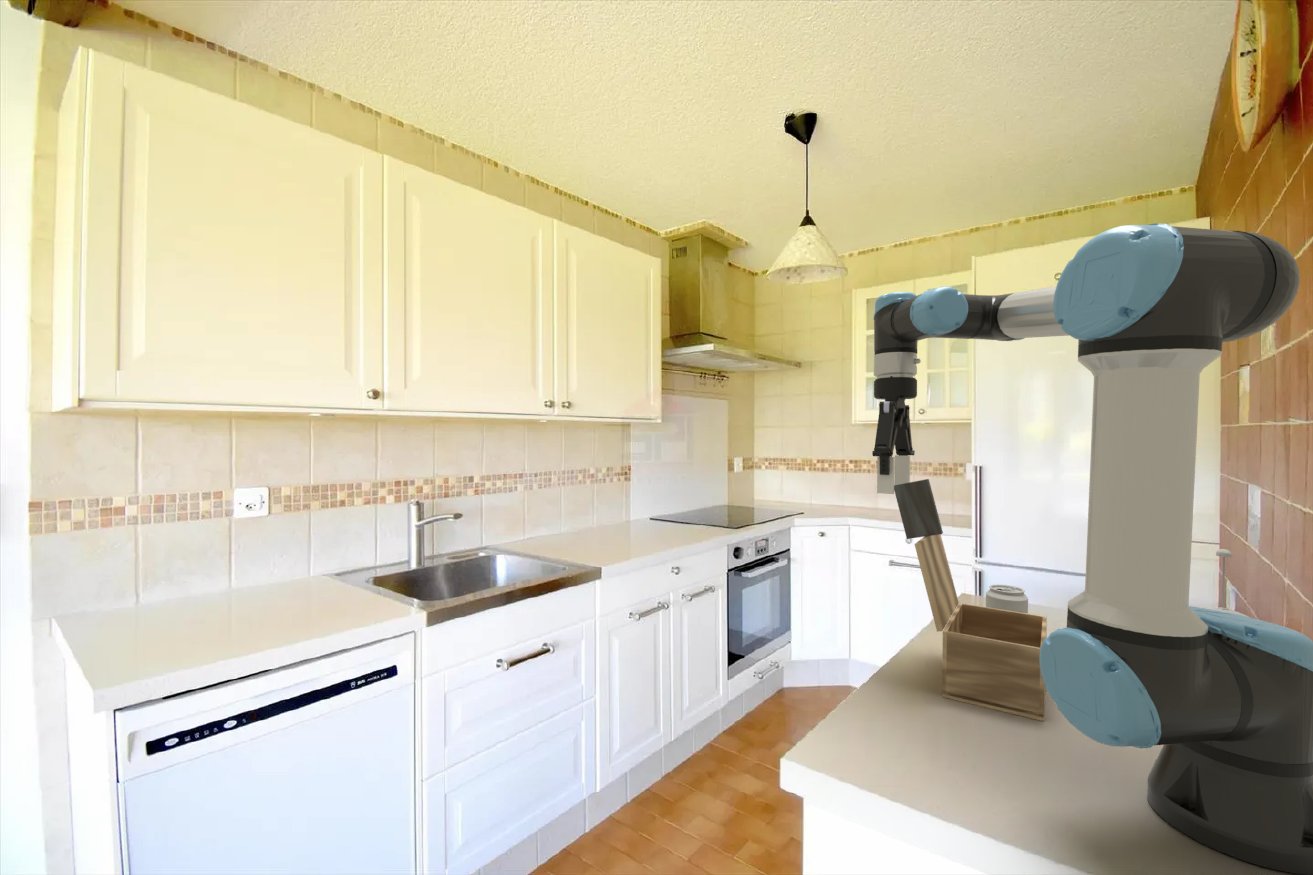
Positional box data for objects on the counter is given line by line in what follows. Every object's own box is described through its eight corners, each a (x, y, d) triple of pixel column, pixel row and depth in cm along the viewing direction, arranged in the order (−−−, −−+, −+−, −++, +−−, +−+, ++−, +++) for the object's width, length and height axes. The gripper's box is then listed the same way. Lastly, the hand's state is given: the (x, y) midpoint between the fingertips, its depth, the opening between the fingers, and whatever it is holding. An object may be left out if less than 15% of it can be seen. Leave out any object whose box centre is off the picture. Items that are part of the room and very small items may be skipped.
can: (977, 638, 124) (978, 582, 124) (1013, 639, 124) (1014, 583, 124) (997, 651, 117) (998, 591, 117) (1035, 652, 116) (1036, 592, 116)
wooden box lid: (917, 482, 98) (881, 489, 102) (956, 630, 95) (917, 632, 98) (937, 476, 115) (905, 482, 118) (970, 602, 112) (937, 604, 115)
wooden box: (1043, 721, 88) (1045, 649, 88) (941, 696, 96) (942, 631, 96) (1045, 676, 105) (1046, 616, 105) (958, 658, 113) (959, 602, 113)
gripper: (902, 369, 97) (901, 497, 97) (928, 382, 118) (928, 487, 118) (856, 372, 102) (855, 494, 101) (889, 384, 122) (888, 485, 122)
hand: (894, 491), depth 110 cm, fingers open, 13 cm apart
